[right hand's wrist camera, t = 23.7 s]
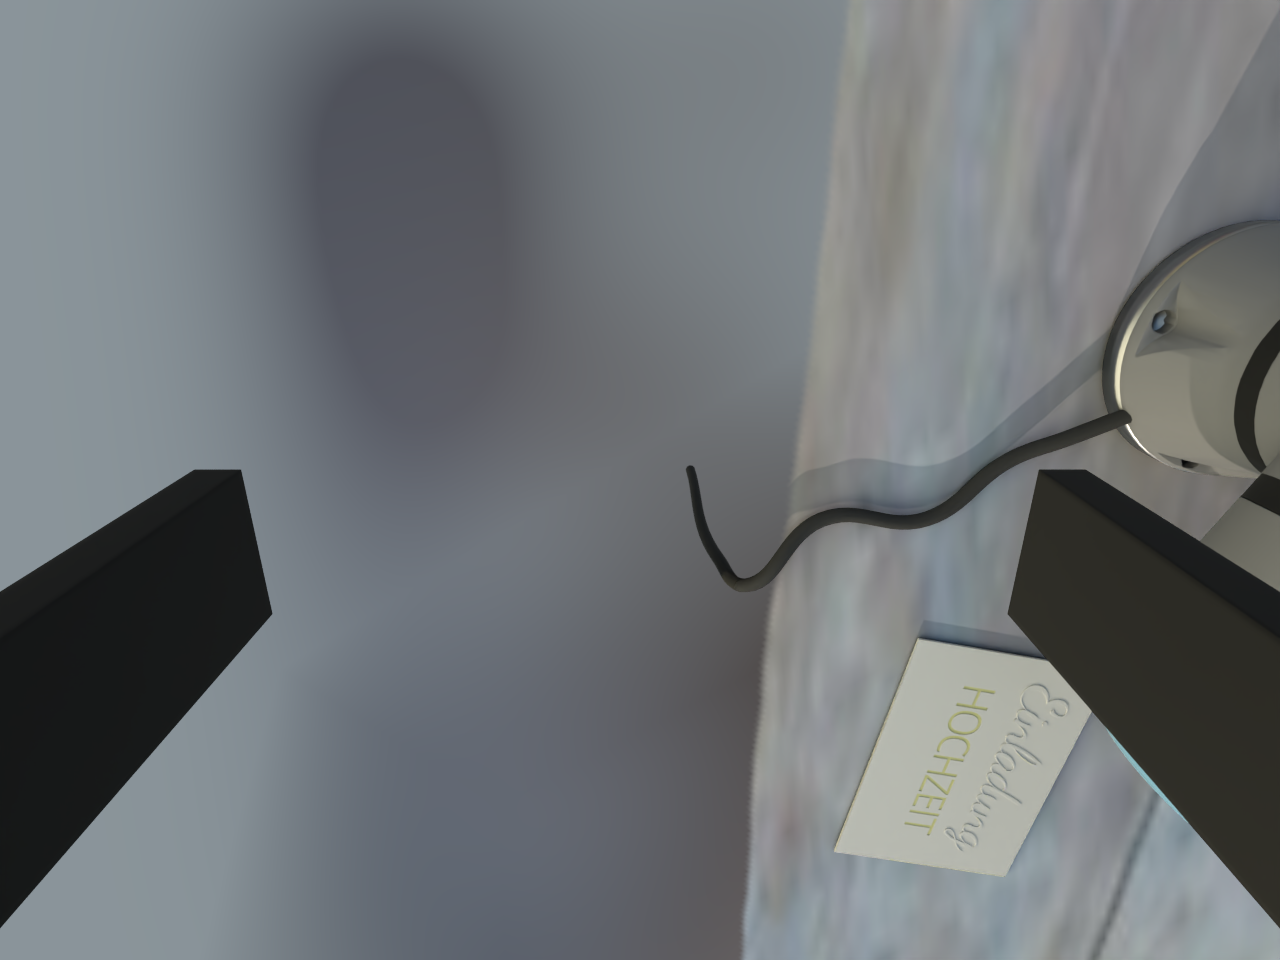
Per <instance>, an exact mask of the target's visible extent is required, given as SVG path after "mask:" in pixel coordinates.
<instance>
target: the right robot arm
mask: <svg viewBox="0 0 1280 960" xmlns="http://www.w3.org/2000/svg"><path fill="white" fill-rule="evenodd" d="M1102 385H1103V394H1104V399H1105V403H1106V407H1107V410H1108V413H1109V414H1108V415H1105V416H1103V417H1100V418H1098V419H1095V420H1092V421H1090V422H1087V423H1085V424H1082V425H1080V426H1077V427H1074V428H1072V429H1069V430H1066V431H1064V432H1061V433H1058V434H1055V435H1052V436H1049V437H1046V438H1043V439H1040V440H1037V441H1034V442H1031V443H1028V444H1025V445H1023V446H1020V447H1018V448H1016V449H1014V450H1011V451H1009V452H1008V453H1006V454H1004V455H1002V456H1000V457H999V458H997V459H995V460H994V461H993V462H991V463H990V464H988V465H987V466H986V467H984V468H983V469H982V470H981V471H980V472H978V473H977V474H976V475H975V476H974V477H973V478H972V479H971V480H970V481H969V482H968V483H967V484H965V485H964V486H963V487H962V488H961V489H960V490H959V491H958V492H957V493H956V494H954V495H953V496H952V497H951V498H950V499H948V500H947V501H946V502H944V503H942V504H941V505H939V506H937V507H935V508H933V509H931V510H928V511H926V512H923V513H919V514H915V515H890V514H885V513H880V512H875V511H870V510H864V509H857V508H837V509H831V510H827V511H824V512H821V513H818V514H816V515H814V516H812V517H810V518H808V519H807V520H805V521H804V522H802V523H801V524H800V525H799V526H798V527H796V528H795V529H794V530H793V531H792V532H791V534H790V535H789V536H788V537H787V538H786V539H785V541H784V542H783V543H782V545H781V546H780V547H779V549H778V550H777V552H776V553H775V554H774V556H773V557H772V559H771V560H770V561H769V563H768V564H767V565H766V566H765V567H764V568H763V569H762V570H761V571H760V572H759V573H758V574H756V575H755V576H752V577H750V578H746V579H743V578H739V577H737V575H736V574H735V573H734V572H733V570H732V568H731V567H730V565H729V563H728V561H727V559H726V558H725V557H724V555H723V554H722V552H721V551H720V549H719V548H718V546H717V545H716V543H715V541H714V539H713V537H712V535H711V533H710V531H709V528H708V525H707V522H706V519H705V515H704V511H703V506H702V500H701V494H700V488H699V483H698V478H697V474H696V471H695V468H694V467H693V466H692V465H689V466H687V468H686V473H687V477H688V481H689V487H690V493H691V501H692V507H693V513H694V519H695V523H696V527H697V531H698V534H699V536H700V539H701V541H702V544H703V546H704V548H705V550H706V552H707V553H708V555H709V556H710V558H711V560H712V561H713V563H714V564H715V566H716V568H717V569H718V572H719V573H720V575H721V577H722V579H723V580H724V582H725V583H726V584H727V585H728V586H729V587H731V588H732V589H733V590H735V591H739V592H750V591H755V590H758V589H760V588H763V587H764V586H765V585H767V584H768V583H770V582H771V581H772V580H773V579H774V578H775V577H776V576H777V574H778V573H779V572H780V571H781V569H782V568H783V567H784V565H785V564H786V563H787V561H788V560H789V558H790V557H791V556H792V554H793V553H794V552H795V550H796V549H797V548H798V546H799V545H800V544H801V543H802V542H803V541H804V540H805V539H806V538H807V537H808V536H809V535H810V534H812V533H813V532H815V531H816V530H818V529H820V528H822V527H824V526H827V525H830V524H834V523H840V522H857V523H863V524H869V525H874V526H879V527H885V528H890V529H917V528H922V527H926V526H930V525H933V524H935V523H938V522H940V521H942V520H944V519H946V518H948V517H950V516H951V515H953V514H955V513H956V512H957V511H959V510H960V509H961V508H963V507H964V506H965V505H966V504H967V503H969V502H970V501H971V500H972V499H973V498H974V497H975V496H976V495H977V494H978V493H979V492H980V491H982V490H983V489H984V488H985V487H986V486H987V485H988V484H989V483H990V482H992V481H993V480H994V479H995V478H997V477H998V476H999V475H1001V474H1002V473H1004V472H1005V471H1007V470H1008V469H1010V468H1012V467H1014V466H1015V465H1017V464H1019V463H1022V462H1024V461H1026V460H1029V459H1031V458H1034V457H1037V456H1040V455H1043V454H1046V453H1049V452H1052V451H1056V450H1059V449H1062V448H1065V447H1068V446H1070V445H1073V444H1076V443H1079V442H1081V441H1084V440H1087V439H1089V438H1092V437H1094V436H1097V435H1100V434H1102V433H1105V432H1108V431H1110V430H1113V429H1115V428H1117V429H1118V431H1119V432H1120V433H1121V434H1122V436H1123V437H1124V438H1125V439H1126V440H1127V441H1128V442H1129V443H1130V444H1131V445H1133V446H1134V447H1135V448H1137V449H1138V450H1140V451H1141V452H1143V453H1145V454H1147V455H1148V456H1150V457H1152V458H1154V459H1156V460H1158V461H1160V462H1162V463H1164V464H1166V465H1168V466H1170V467H1173V468H1175V469H1179V470H1182V471H1186V472H1191V473H1197V474H1207V475H1221V476H1230V477H1242V478H1254V479H1256V480H1255V481H1254V482H1253V484H1252V485H1251V486H1250V487H1249V488H1248V489H1247V490H1246V491H1245V493H1244V494H1243V495H1242V496H1241V497H1240V498H1239V499H1238V500H1237V501H1236V502H1235V503H1234V504H1233V505H1232V506H1231V508H1230V509H1229V510H1228V511H1227V512H1226V513H1225V514H1224V515H1223V516H1222V518H1221V519H1220V520H1219V521H1218V522H1217V523H1216V524H1215V525H1214V526H1213V527H1212V529H1211V530H1210V531H1209V532H1208V533H1207V534H1206V535H1205V536H1204V537H1203V539H1202V540H1201V541H1198V540H1197V539H1195V538H1193V537H1192V536H1190V535H1189V534H1187V533H1185V532H1184V531H1182V530H1181V529H1179V528H1178V527H1176V526H1174V525H1173V524H1171V523H1170V522H1168V521H1166V520H1165V519H1163V518H1162V517H1160V516H1158V515H1157V514H1155V513H1154V512H1152V511H1151V510H1149V509H1147V508H1146V507H1144V506H1143V505H1141V504H1139V503H1138V502H1136V501H1135V500H1133V499H1131V498H1130V497H1128V496H1127V495H1125V494H1123V493H1122V492H1120V491H1119V490H1117V489H1116V488H1114V487H1112V486H1111V485H1109V484H1108V483H1106V482H1104V481H1103V480H1101V479H1100V478H1098V477H1096V476H1095V475H1093V474H1092V473H1090V472H1088V471H1087V470H1039V472H1038V477H1037V481H1036V486H1035V490H1034V495H1033V500H1032V504H1031V509H1030V513H1029V518H1028V522H1027V527H1026V532H1025V536H1024V541H1023V545H1022V550H1021V555H1020V559H1019V564H1018V568H1017V573H1016V578H1015V582H1014V587H1013V591H1012V596H1011V601H1010V605H1009V610H1008V615H1009V616H1010V617H1011V618H1012V620H1013V621H1014V622H1015V623H1016V624H1017V625H1018V627H1019V628H1020V629H1021V630H1022V631H1023V632H1024V633H1025V635H1026V636H1027V637H1028V638H1029V639H1030V640H1031V642H1032V643H1033V644H1034V645H1035V646H1036V647H1037V648H1038V650H1039V651H1040V652H1041V653H1042V654H1043V655H1044V657H1045V658H1046V659H1047V660H1048V661H1049V662H1050V663H1051V665H1052V666H1053V667H1054V668H1055V669H1056V670H1057V672H1058V673H1059V674H1060V675H1061V676H1062V677H1063V678H1064V680H1065V681H1066V682H1067V683H1068V684H1069V685H1070V687H1071V688H1072V689H1073V690H1074V691H1075V692H1076V693H1077V695H1078V696H1079V697H1080V698H1081V699H1082V700H1083V702H1084V703H1085V704H1086V705H1087V706H1088V707H1089V708H1090V710H1091V711H1092V712H1093V713H1094V714H1095V715H1096V717H1097V718H1098V719H1099V720H1100V721H1101V722H1102V723H1103V725H1104V726H1105V727H1106V729H1107V731H1108V732H1109V734H1110V735H1111V737H1112V738H1113V740H1114V741H1115V743H1116V744H1117V746H1118V747H1119V749H1120V750H1121V751H1122V753H1123V754H1124V755H1125V756H1126V758H1127V759H1128V760H1129V762H1130V763H1131V764H1132V765H1133V766H1134V768H1135V769H1136V770H1137V771H1138V772H1139V774H1140V775H1141V776H1142V777H1143V778H1144V779H1145V780H1146V781H1147V783H1148V784H1149V785H1150V786H1151V787H1152V788H1153V789H1154V790H1155V791H1156V792H1157V793H1158V794H1159V795H1160V796H1161V797H1162V798H1163V800H1164V801H1165V802H1166V803H1167V804H1168V805H1169V806H1170V807H1171V808H1173V809H1174V810H1175V811H1176V812H1177V813H1178V814H1179V815H1180V816H1181V817H1182V818H1183V819H1184V820H1185V821H1186V822H1188V823H1189V824H1190V825H1191V826H1192V827H1193V829H1194V830H1195V831H1196V832H1197V833H1198V834H1199V835H1200V837H1201V838H1202V839H1203V840H1204V841H1205V842H1206V844H1207V845H1208V846H1209V847H1210V848H1211V849H1212V850H1213V852H1214V853H1215V854H1216V855H1217V856H1218V857H1219V859H1220V860H1221V861H1222V862H1223V863H1224V864H1225V865H1226V867H1227V868H1228V869H1229V870H1230V871H1231V872H1232V874H1233V875H1234V876H1235V877H1236V878H1237V879H1238V880H1239V882H1240V883H1241V884H1242V885H1243V886H1244V887H1245V889H1246V890H1247V891H1248V892H1249V893H1250V894H1251V895H1252V897H1253V898H1254V899H1255V900H1256V901H1257V902H1258V904H1259V905H1260V906H1261V907H1262V908H1263V909H1264V910H1265V912H1266V913H1267V914H1268V915H1269V916H1270V917H1271V919H1272V920H1273V921H1274V922H1275V923H1276V924H1277V925H1278V927H1279V928H1280V221H1278V220H1259V221H1249V222H1243V223H1238V224H1234V225H1230V226H1227V227H1224V228H1220V229H1218V230H1215V231H1213V232H1210V233H1208V234H1205V235H1203V236H1201V237H1199V238H1197V239H1195V240H1193V241H1192V242H1190V243H1188V244H1187V245H1185V246H1183V247H1182V248H1180V249H1179V250H1177V251H1176V252H1175V253H1173V254H1172V255H1170V256H1169V257H1168V258H1167V259H1165V260H1164V261H1163V262H1162V263H1161V264H1159V265H1158V266H1157V267H1156V268H1155V269H1154V270H1153V271H1152V272H1151V273H1150V274H1149V275H1148V276H1147V277H1146V278H1145V279H1144V280H1143V282H1142V283H1141V284H1140V285H1139V286H1138V287H1137V289H1136V290H1135V291H1134V293H1133V294H1132V295H1131V297H1130V298H1129V300H1128V301H1127V303H1126V304H1125V306H1124V307H1123V309H1122V311H1121V313H1120V314H1119V316H1118V318H1117V320H1116V322H1115V325H1114V327H1113V329H1112V332H1111V334H1110V337H1109V340H1108V343H1107V347H1106V351H1105V355H1104V361H1103V369H1102ZM271 615H272V610H271V605H270V601H269V596H268V591H267V587H266V582H265V578H264V573H263V568H262V564H261V559H260V555H259V550H258V545H257V541H256V536H255V532H254V527H253V523H252V518H251V513H250V509H249V504H248V500H247V495H246V490H245V486H244V481H243V477H242V472H241V470H193V471H192V472H190V473H188V474H187V475H185V476H184V477H182V478H181V479H179V480H177V481H176V482H174V483H173V484H171V485H169V486H168V487H166V488H164V489H163V490H161V491H160V492H158V493H157V494H155V495H153V496H152V497H150V498H149V499H147V500H145V501H144V502H142V503H141V504H139V505H137V506H136V507H134V508H133V509H131V510H130V511H128V512H126V513H125V514H123V515H122V516H120V517H118V518H117V519H115V520H114V521H112V522H110V523H109V524H107V525H106V526H104V527H102V528H101V529H99V530H98V531H96V532H95V533H93V534H91V535H90V536H88V537H87V538H85V539H83V540H82V541H80V542H79V543H77V544H75V545H74V546H72V547H71V548H69V549H68V550H66V551H64V552H63V553H61V554H60V555H58V556H56V557H55V558H53V559H52V560H50V561H48V562H47V563H45V564H44V565H42V566H40V567H39V568H37V569H36V570H34V571H32V572H31V573H29V574H28V575H26V576H25V577H23V578H21V579H20V580H18V581H17V582H15V583H13V584H12V585H10V586H9V587H7V588H6V589H4V590H2V591H1V592H0V928H1V927H2V925H3V924H4V923H5V922H6V921H7V920H8V919H9V917H10V916H11V915H12V914H13V913H14V912H15V910H16V909H17V908H18V907H19V906H20V905H21V904H22V902H23V901H24V900H25V899H26V898H27V897H28V895H29V894H30V893H31V892H32V891H33V890H34V889H35V887H36V886H37V885H38V884H39V883H40V882H41V880H42V879H43V878H44V877H45V876H46V875H47V874H48V872H49V871H50V870H51V869H52V868H53V867H54V865H55V864H56V863H57V862H58V861H59V860H60V859H61V857H62V856H63V855H64V854H65V853H66V852H67V850H68V849H69V848H70V847H71V846H72V845H73V844H74V842H75V841H76V840H77V839H78V838H79V837H80V835H81V834H82V833H83V832H84V831H85V830H86V829H87V827H88V826H89V825H90V824H91V823H92V822H93V820H94V819H95V818H96V817H97V816H98V815H99V814H100V812H101V811H102V810H103V809H104V808H105V807H106V805H107V804H108V803H109V802H110V801H111V800H112V798H113V797H114V796H115V795H116V794H117V793H118V792H119V790H120V789H121V788H122V787H123V786H124V785H125V783H126V782H127V781H128V780H129V779H130V778H131V777H132V775H133V774H134V773H135V772H136V771H137V770H138V768H139V767H140V766H141V765H142V764H143V763H144V762H145V760H146V759H147V758H148V757H149V756H150V755H151V753H152V752H153V751H154V750H155V749H156V748H157V746H158V745H159V744H160V743H161V742H162V741H163V740H164V738H165V737H166V736H167V735H168V734H169V733H170V732H171V730H172V729H173V728H174V727H175V726H176V725H177V723H178V722H179V721H180V720H181V719H182V718H183V717H184V715H185V714H186V713H187V712H188V711H189V710H190V708H191V707H192V706H193V705H194V704H195V703H196V702H197V700H198V699H199V698H200V697H201V696H202V695H203V693H204V692H205V691H206V690H207V689H208V688H209V687H210V685H211V684H212V683H213V682H214V681H215V680H216V678H217V677H218V676H219V675H220V674H221V673H222V672H223V670H224V669H225V668H226V667H227V666H228V665H229V663H230V662H231V661H232V660H233V659H234V658H235V656H236V655H237V654H238V653H239V652H240V651H241V650H242V648H243V647H244V646H245V645H246V644H247V643H248V641H249V640H250V639H251V638H252V637H253V636H254V635H255V633H256V632H257V631H258V630H259V629H260V628H261V627H262V625H263V624H264V623H265V622H266V621H267V620H268V618H269V617H270V616H271Z"/></svg>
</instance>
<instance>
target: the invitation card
mask: <svg viewBox="0 0 1280 960" xmlns="http://www.w3.org/2000/svg"><path fill="white" fill-rule="evenodd" d="M1091 712H1092V711H1091V710H1090V708H1089V707H1088V706H1087V705H1086V704H1085V703H1084V702H1083V700H1082V699H1081V698H1080V697H1079V696H1078V695H1077V693H1076V692H1075V691H1074V690H1073V689H1072V688H1071V687H1070V685H1069V684H1068V683H1067V682H1066V681H1065V680H1064V678H1063V677H1062V676H1061V675H1060V674H1059V673H1058V672H1057V670H1056V669H1055V668H1054V667H1053V666H1052V665H1051V663H1050V662H1049V661H1048V660H1046V659H1040V658H1034V657H1028V656H1022V655H1017V654H1011V653H1005V652H999V651H993V650H987V649H981V648H975V647H969V646H964V645H958V644H952V643H946V642H940V641H934V640H928V639H922V638H918V639H917V642H916V644H915V647H914V649H913V652H912V654H911V657H910V659H909V662H908V664H907V667H906V669H905V672H904V674H903V677H902V680H901V682H900V685H899V687H898V690H897V692H896V695H895V697H894V700H893V702H892V705H891V707H890V710H889V712H888V715H887V717H886V720H885V722H884V725H883V727H882V730H881V733H880V735H879V738H878V740H877V743H876V745H875V748H874V750H873V753H872V755H871V758H870V760H869V763H868V765H867V768H866V770H865V773H864V775H863V778H862V780H861V783H860V785H859V788H858V791H857V793H856V796H855V798H854V801H853V803H852V806H851V808H850V811H849V813H848V816H847V818H846V821H845V823H844V826H843V828H842V831H841V833H840V836H839V838H838V841H837V843H836V846H835V849H834V852H838V853H845V854H852V855H859V856H866V857H872V858H879V859H886V860H893V861H900V862H907V863H913V864H920V865H927V866H934V867H941V868H947V869H954V870H961V871H968V872H975V873H981V874H988V875H995V876H1002V877H1005V876H1006V874H1007V872H1008V870H1009V868H1010V866H1011V864H1012V862H1013V861H1014V859H1015V857H1016V855H1017V853H1018V851H1019V849H1020V847H1021V845H1022V843H1023V841H1024V840H1025V838H1026V836H1027V834H1028V832H1029V830H1030V828H1031V826H1032V824H1033V822H1034V820H1035V819H1036V817H1037V815H1038V813H1039V811H1040V809H1041V807H1042V805H1043V803H1044V801H1045V799H1046V798H1047V796H1048V794H1049V792H1050V790H1051V788H1052V786H1053V784H1054V782H1055V780H1056V779H1057V777H1058V775H1059V773H1060V771H1061V769H1062V767H1063V765H1064V763H1065V761H1066V759H1067V758H1068V756H1069V754H1070V752H1071V750H1072V748H1073V746H1074V744H1075V742H1076V740H1077V738H1078V737H1079V735H1080V733H1081V731H1082V729H1083V727H1084V725H1085V723H1086V721H1087V719H1088V717H1089V716H1090V714H1091Z"/></svg>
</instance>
